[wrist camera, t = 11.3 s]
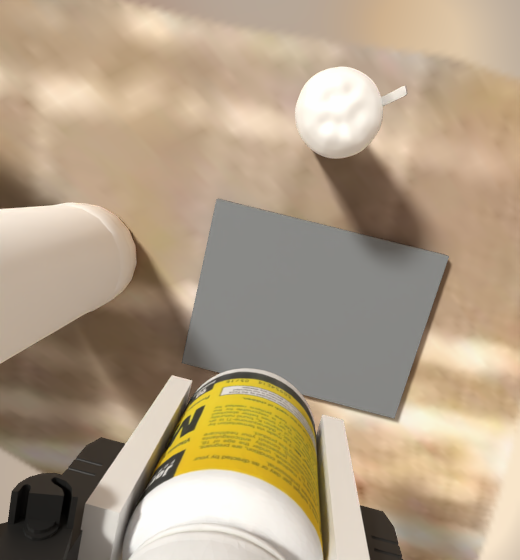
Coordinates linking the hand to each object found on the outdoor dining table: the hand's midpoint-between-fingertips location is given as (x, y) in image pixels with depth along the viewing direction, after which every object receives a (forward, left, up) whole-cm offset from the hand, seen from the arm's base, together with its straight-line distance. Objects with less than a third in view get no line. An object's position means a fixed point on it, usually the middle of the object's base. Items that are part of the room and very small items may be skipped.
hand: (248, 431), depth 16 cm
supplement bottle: (0, 0, -1) cm, 1 cm away
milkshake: (+1, +13, -19) cm, 23 cm away
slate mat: (+3, 0, -19) cm, 19 cm away
